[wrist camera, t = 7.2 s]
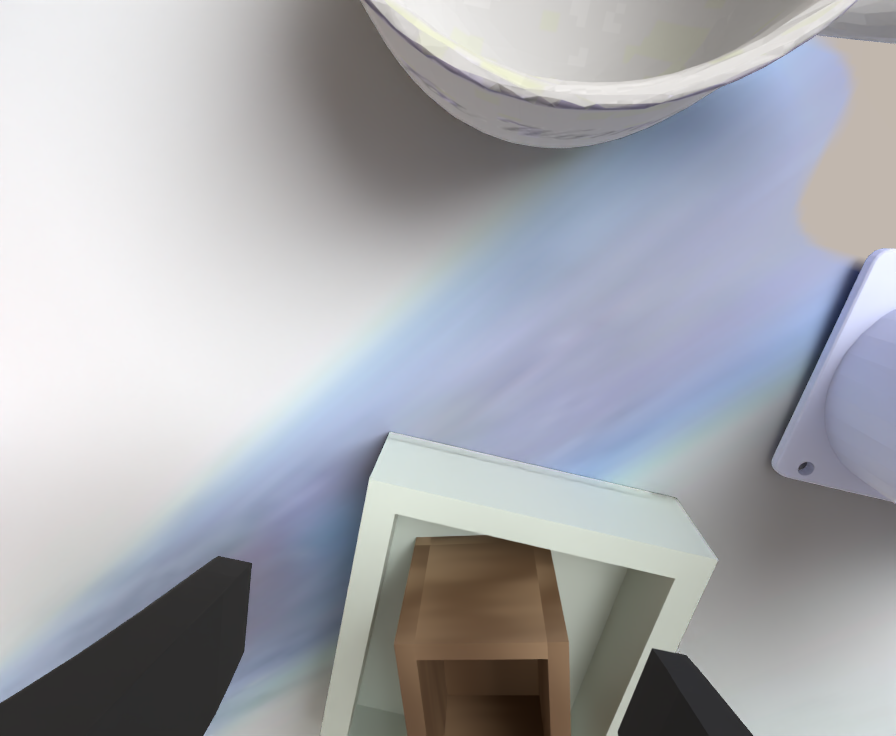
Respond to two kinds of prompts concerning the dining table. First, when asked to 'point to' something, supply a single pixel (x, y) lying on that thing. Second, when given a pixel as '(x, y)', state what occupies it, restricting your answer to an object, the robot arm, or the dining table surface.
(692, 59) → the teacup
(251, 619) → the dining table surface
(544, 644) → the small crate
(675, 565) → the white shallow tray
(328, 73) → the dining table surface
